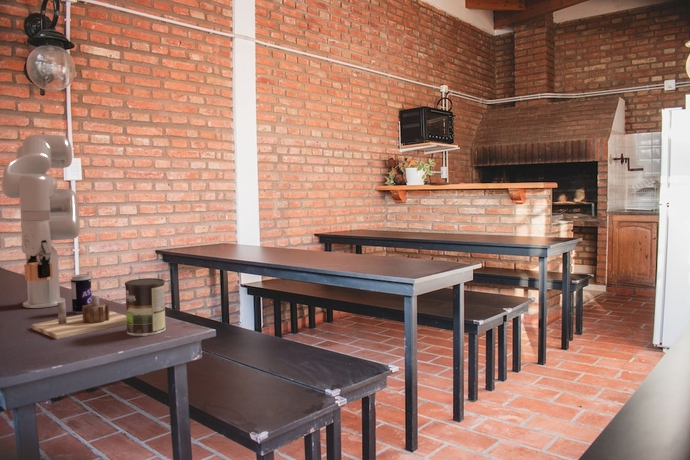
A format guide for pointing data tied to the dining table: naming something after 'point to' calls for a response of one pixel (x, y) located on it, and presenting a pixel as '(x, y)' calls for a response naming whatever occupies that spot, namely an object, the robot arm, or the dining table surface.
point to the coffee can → (145, 306)
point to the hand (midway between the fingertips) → (39, 275)
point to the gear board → (81, 320)
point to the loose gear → (35, 272)
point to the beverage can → (80, 292)
